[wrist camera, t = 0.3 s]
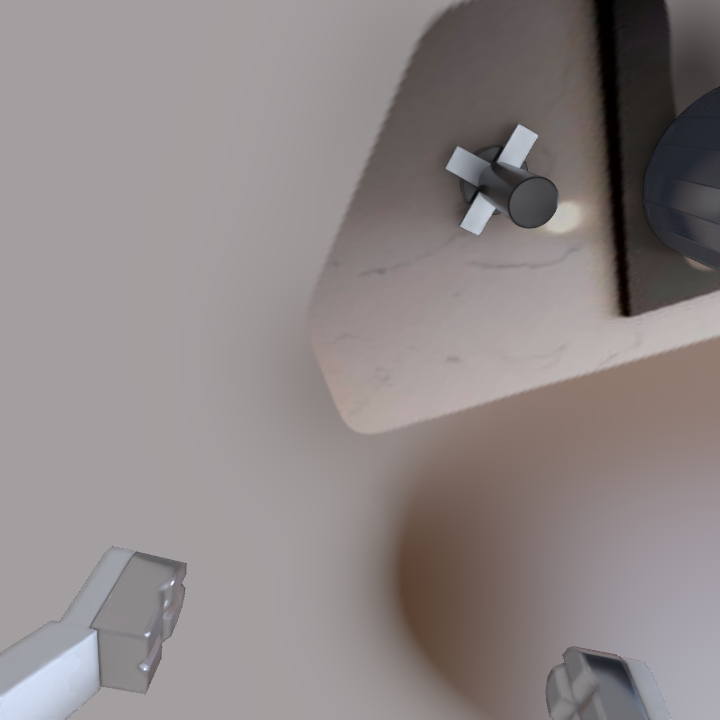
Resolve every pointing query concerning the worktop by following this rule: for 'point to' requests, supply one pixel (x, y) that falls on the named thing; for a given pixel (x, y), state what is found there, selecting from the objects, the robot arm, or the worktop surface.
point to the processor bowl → (688, 183)
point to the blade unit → (503, 184)
